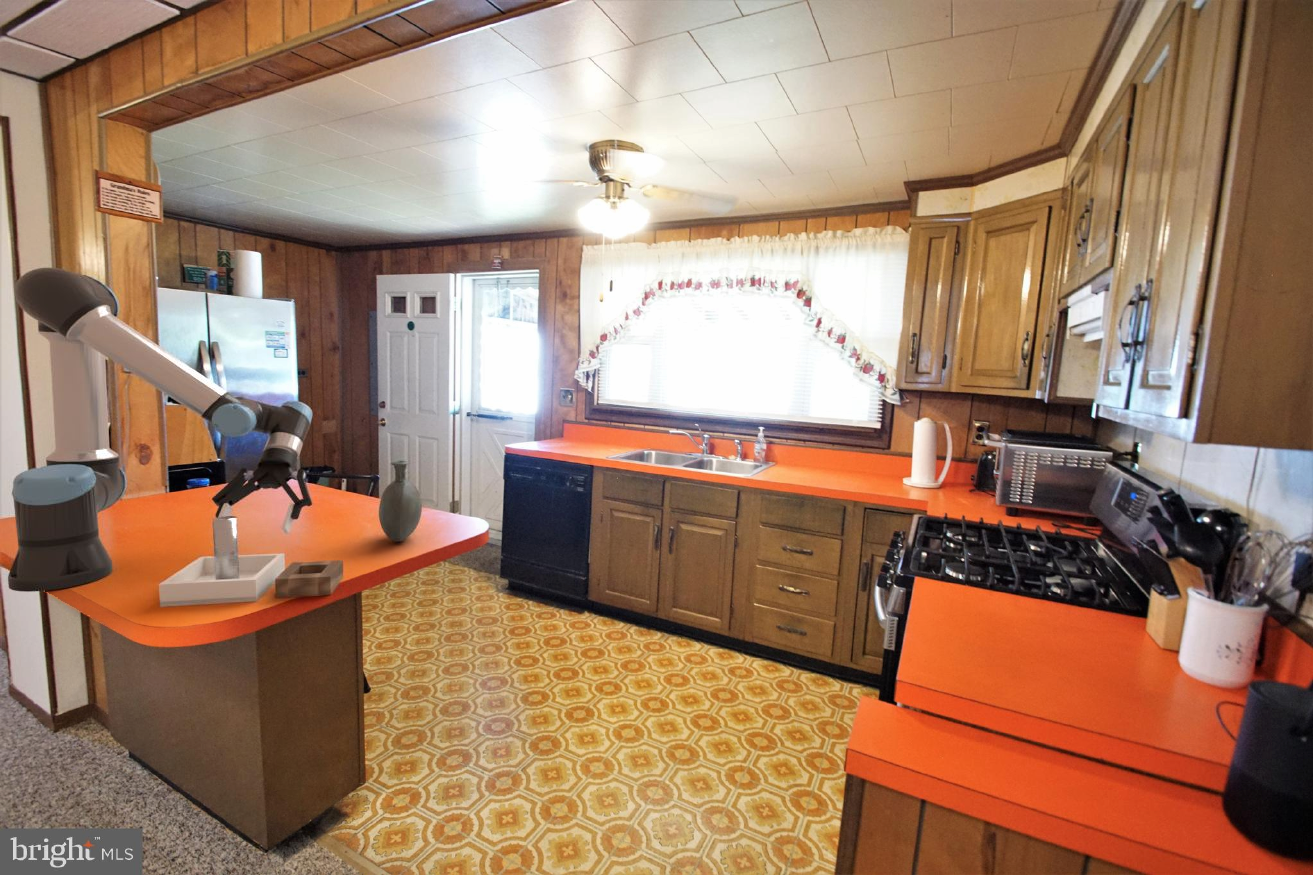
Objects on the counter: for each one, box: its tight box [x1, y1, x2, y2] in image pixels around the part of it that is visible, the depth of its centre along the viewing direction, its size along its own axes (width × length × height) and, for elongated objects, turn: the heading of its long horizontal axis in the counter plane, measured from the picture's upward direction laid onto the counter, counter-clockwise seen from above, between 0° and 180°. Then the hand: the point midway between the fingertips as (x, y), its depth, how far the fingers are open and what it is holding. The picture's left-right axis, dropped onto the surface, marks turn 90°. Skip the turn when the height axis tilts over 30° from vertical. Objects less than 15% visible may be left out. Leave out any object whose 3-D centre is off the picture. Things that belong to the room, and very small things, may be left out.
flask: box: [378, 460, 423, 543], centre depth 153 cm, size 12×17×22 cm
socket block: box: [274, 560, 344, 599], centre depth 120 cm, size 10×10×4 cm
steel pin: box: [212, 515, 239, 580], centre depth 117 cm, size 4×4×14 cm
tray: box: [158, 553, 286, 608], centre depth 117 cm, size 16×16×4 cm
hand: (251, 531), depth 127 cm, fingers open, 13 cm apart
